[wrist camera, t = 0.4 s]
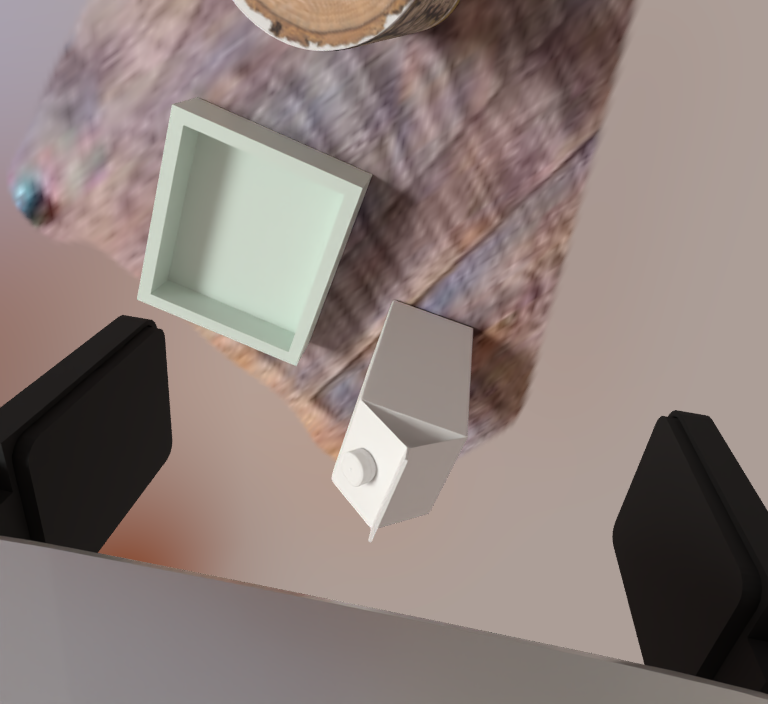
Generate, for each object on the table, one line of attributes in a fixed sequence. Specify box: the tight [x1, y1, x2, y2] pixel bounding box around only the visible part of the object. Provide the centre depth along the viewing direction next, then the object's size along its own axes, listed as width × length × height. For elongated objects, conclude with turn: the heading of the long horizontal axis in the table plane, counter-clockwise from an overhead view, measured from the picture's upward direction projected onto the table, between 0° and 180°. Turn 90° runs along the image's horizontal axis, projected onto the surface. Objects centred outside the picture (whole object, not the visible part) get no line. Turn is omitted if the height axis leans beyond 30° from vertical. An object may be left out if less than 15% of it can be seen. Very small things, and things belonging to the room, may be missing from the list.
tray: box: [137, 97, 372, 366], centre depth 46 cm, size 16×14×4 cm
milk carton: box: [332, 300, 473, 542], centre depth 43 cm, size 7×7×19 cm
